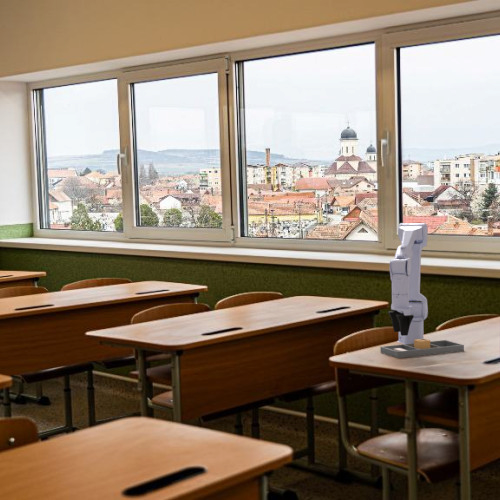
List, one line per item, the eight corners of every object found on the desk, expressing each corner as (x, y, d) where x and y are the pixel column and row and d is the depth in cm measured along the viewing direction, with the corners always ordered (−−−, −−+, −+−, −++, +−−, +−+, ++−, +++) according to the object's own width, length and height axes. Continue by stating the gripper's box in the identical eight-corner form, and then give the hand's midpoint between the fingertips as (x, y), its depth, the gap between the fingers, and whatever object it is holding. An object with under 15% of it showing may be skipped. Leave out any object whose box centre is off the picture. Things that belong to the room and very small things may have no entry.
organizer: (380, 353, 315) (380, 346, 315) (445, 346, 325) (445, 339, 325) (397, 359, 305) (397, 352, 305) (463, 351, 315) (463, 344, 314)
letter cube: (414, 351, 316) (413, 339, 316) (424, 350, 317) (423, 338, 317) (420, 353, 312) (420, 341, 312) (430, 351, 314) (430, 340, 313)
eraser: (393, 352, 313) (393, 348, 313) (399, 352, 314) (399, 348, 314) (401, 355, 309) (401, 351, 309) (407, 354, 310) (407, 350, 310)
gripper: (418, 296, 304) (419, 336, 305) (404, 290, 318) (405, 329, 319) (398, 296, 302) (398, 337, 304) (385, 291, 317) (385, 330, 318)
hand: (400, 333), depth 311 cm, fingers open, 7 cm apart
